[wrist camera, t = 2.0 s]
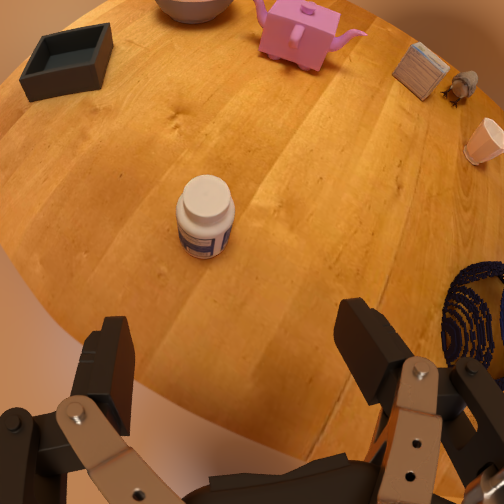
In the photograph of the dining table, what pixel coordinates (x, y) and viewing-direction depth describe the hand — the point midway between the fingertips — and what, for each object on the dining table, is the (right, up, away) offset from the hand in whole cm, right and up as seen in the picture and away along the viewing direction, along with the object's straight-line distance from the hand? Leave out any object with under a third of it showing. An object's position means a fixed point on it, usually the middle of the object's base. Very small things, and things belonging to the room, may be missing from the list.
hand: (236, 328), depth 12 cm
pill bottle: (-5, +4, +24) cm, 25 cm away
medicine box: (+31, +35, +40) cm, 62 cm away
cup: (+43, +21, +38) cm, 61 cm away
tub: (-29, +32, +29) cm, 52 cm away
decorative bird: (+46, +38, +43) cm, 74 cm away
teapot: (+7, +37, +36) cm, 52 cm away
